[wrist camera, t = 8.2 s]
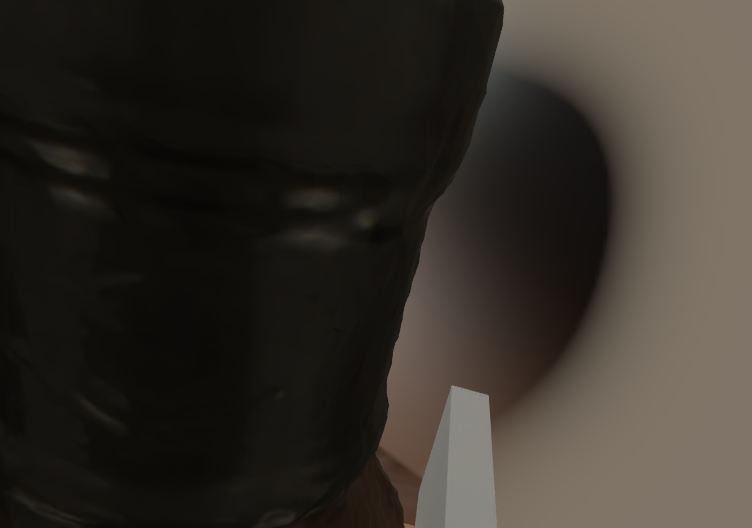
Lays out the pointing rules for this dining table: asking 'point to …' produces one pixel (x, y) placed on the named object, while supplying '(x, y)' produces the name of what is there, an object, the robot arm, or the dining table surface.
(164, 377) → the sauce bottle
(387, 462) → the dining table surface
